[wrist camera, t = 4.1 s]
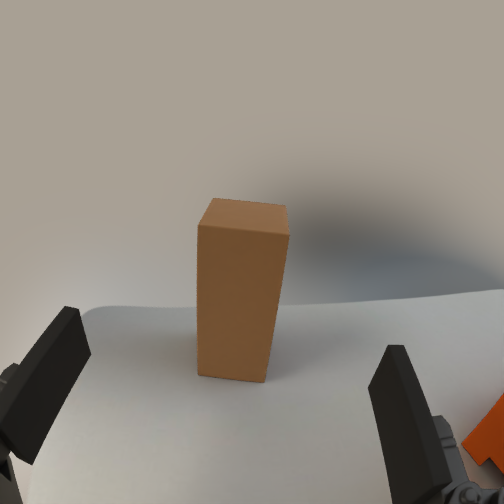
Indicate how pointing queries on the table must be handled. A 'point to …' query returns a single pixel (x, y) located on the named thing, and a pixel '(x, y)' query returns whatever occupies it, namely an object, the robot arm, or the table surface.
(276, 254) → the carton
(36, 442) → the robot arm
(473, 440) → the orange slotted bracket
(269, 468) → the table surface
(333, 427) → the table surface
